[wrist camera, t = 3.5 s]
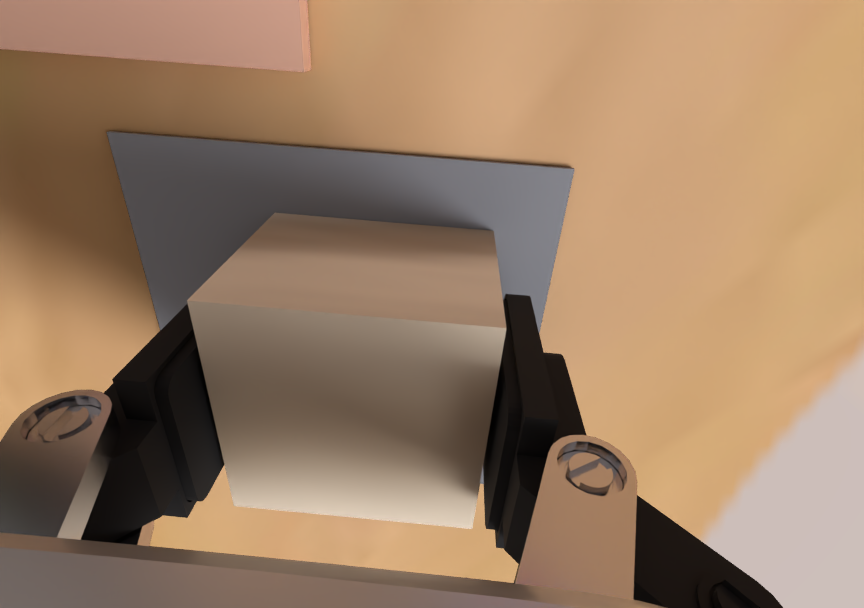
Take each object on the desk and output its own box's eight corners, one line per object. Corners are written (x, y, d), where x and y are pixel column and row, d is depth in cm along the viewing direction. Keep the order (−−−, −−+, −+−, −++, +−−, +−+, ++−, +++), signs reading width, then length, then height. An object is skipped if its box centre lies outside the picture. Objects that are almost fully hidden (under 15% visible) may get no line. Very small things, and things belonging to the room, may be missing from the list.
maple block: (274, 212, 11) (187, 300, 8) (494, 230, 11) (505, 328, 7) (293, 382, 13) (234, 505, 10) (470, 398, 13) (471, 528, 10)
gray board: (109, 131, 10) (105, 132, 10) (573, 167, 10) (574, 169, 10) (196, 454, 15) (194, 457, 15) (506, 483, 15) (506, 486, 15)
